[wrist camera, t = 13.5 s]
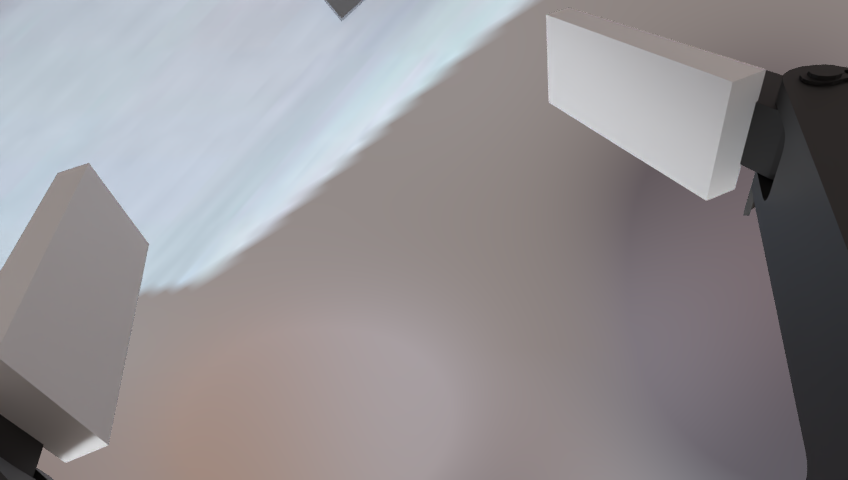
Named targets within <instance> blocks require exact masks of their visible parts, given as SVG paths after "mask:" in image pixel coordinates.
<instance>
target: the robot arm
mask: <svg viewBox="0 0 848 480" xmlns="http://www.w3.org/2000/svg"><path fill="white" fill-rule="evenodd" d="M546 27H547V60H548V88H549V89H548V92H549V102H550V103H551V104H552V105H554V106H556V107H557V108H559V109H560V110H562V111H564V112H565V113H567V114H568V115H570V116H572V117H573V118H575V119H576V120H578V121H579V122H581V123H583V124H584V125H586V126H587V127H589V128H591V129H592V130H594V131H595V132H597V133H599V134H600V135H602V136H603V137H605V138H607V139H609V140H610V141H612V142H613V143H615V144H616V145H618V146H620V147H621V148H623V149H624V150H626V151H628V152H629V153H631V154H632V155H634V156H636V157H637V158H639V159H640V160H642V161H644V162H645V163H647V164H648V165H650V166H652V167H653V168H655V169H656V170H658V171H660V172H661V173H663V174H664V175H666V176H668V177H669V178H671V179H672V180H674V181H676V182H678V183H679V184H680V185H682V186H684V187H685V188H687V189H688V190H690V191H692V192H693V193H695V194H697V195H698V196H700V197H701V198H703V199H704V200H709V199H712V198H714V197H717V196H719V195H722V194H724V193H726V192H729V191H731V190H734V189H735V186H736V183H737V179H738V175H739V171H740V167H741V165H743V166H745V167H747V168H749V169H751V170H753V171H755V175H754V178H753V182H752V186H751V189H750V193H749V196H748V199H747V203H746V206H745V210H744V215H747V216H749V214H750V211H751V209H753V208H754V207H755V208H756V213H757V217H758V223H759V228H760V232H761V237H762V242H763V247H764V251H765V257H766V261H767V266H768V271H769V276H770V281H771V286H772V291H773V296H774V300H775V305H776V310H777V315H778V320H779V325H780V330H781V334H782V339H783V344H784V349H785V354H786V358H787V363H788V368H789V373H790V377H791V383H792V388H793V393H794V398H795V402H796V407H797V412H798V417H799V422H800V426H801V432H802V436H803V441H804V446H805V451H806V457H807V478H806V480H848V68H846V67H839V66H835V65H812V66H802V67H798V68H795V69H792V70H789V71H788V72H786V73H785V74H784V75H780V74H776V73H773V72H770V71H767V70H766V69H763V68H760V67H756V66H753V65H750V64H747V63H744V62H741V61H738V60H734V59H731V58H728V57H725V56H721V55H719V54H715V53H712V52H709V51H706V50H703V49H700V48H696V47H693V46H690V45H687V44H684V43H681V42H678V41H674V40H671V39H668V38H665V37H662V36H659V35H655V34H652V33H649V32H646V31H643V30H640V29H636V28H633V27H630V26H627V25H624V24H620V23H617V22H614V21H611V20H608V19H605V18H602V17H598V16H595V15H592V14H589V13H586V12H583V11H579V10H576V9H573V8H570V7H568V8H565V9H562V10H559V11H556V12H553V13H550V14H547V15H546ZM148 246H149V244H148V242H147V241H146V240H145V238H144V237H143V236H142V234H141V233H140V231H139V230H138V229H137V227H136V226H135V225H134V223H133V222H132V221H131V219H130V218H129V217H128V215H127V214H126V213H125V211H124V210H123V209H122V207H121V206H120V205H119V203H118V202H117V200H116V199H115V198H114V196H113V195H112V194H111V192H110V191H109V190H108V188H107V187H106V186H105V184H104V183H103V182H102V180H101V179H100V178H99V176H98V175H97V174H96V172H95V171H94V169H93V168H92V167H91V165H90V164H89V163H87V164H84V165H81V166H78V167H75V168H72V169H69V170H66V171H63V172H60V173H57V175H56V177H55V179H54V180H53V182H52V184H51V185H50V187H49V189H48V191H47V192H46V194H45V196H44V197H43V199H42V201H41V203H40V204H39V206H38V208H37V209H36V211H35V213H34V215H33V216H32V218H31V220H30V222H29V223H28V225H27V227H26V228H25V230H24V232H23V234H22V235H21V237H20V239H19V240H18V242H17V244H16V246H15V247H14V249H13V251H12V252H11V254H10V256H9V258H8V259H7V261H6V263H5V264H4V266H3V268H2V270H1V271H0V480H53V479H52V478H51V477H50V476H49V475H47V474H45V473H44V472H42V471H41V470H39V469H38V468H36V467H37V464H38V461H39V458H40V454H41V451H42V448H43V447H44V448H45V449H47V450H48V451H50V452H51V453H53V454H54V455H55V456H57V457H58V458H60V459H61V460H62V461H64V462H69V461H71V460H73V459H76V458H78V457H81V456H83V455H86V454H88V453H90V452H93V451H95V450H98V449H100V448H103V447H105V446H107V445H109V439H110V435H111V430H112V425H113V420H114V415H115V410H116V405H117V400H118V395H119V390H120V385H121V380H122V375H123V370H124V365H125V360H126V355H127V350H128V345H129V340H130V335H131V331H132V325H133V321H134V316H135V310H136V305H137V301H138V296H139V291H140V286H141V281H142V276H143V271H144V266H145V261H146V256H147V251H148Z"/></svg>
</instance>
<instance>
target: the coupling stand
mask: <svg viewBox="0 0 848 480" xmlns="http://www.w3.org/2000/svg"><path fill="white" fill-rule="evenodd" d="M363 1H364V0H325V2H326V3H327V4H328V5H329V6H330V8H331V9H332V10H333V11H334V13H335V14H336V15H337V16H338V17H339V19H340V20H341V21H343V20H344V19H345V18H346V17H347V16H348V15H349V14H350V13H351V12H352V11H353V10H354V9H356V8H357V7H358V6H359V5H360V4H361V3H362V2H363Z"/></svg>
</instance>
